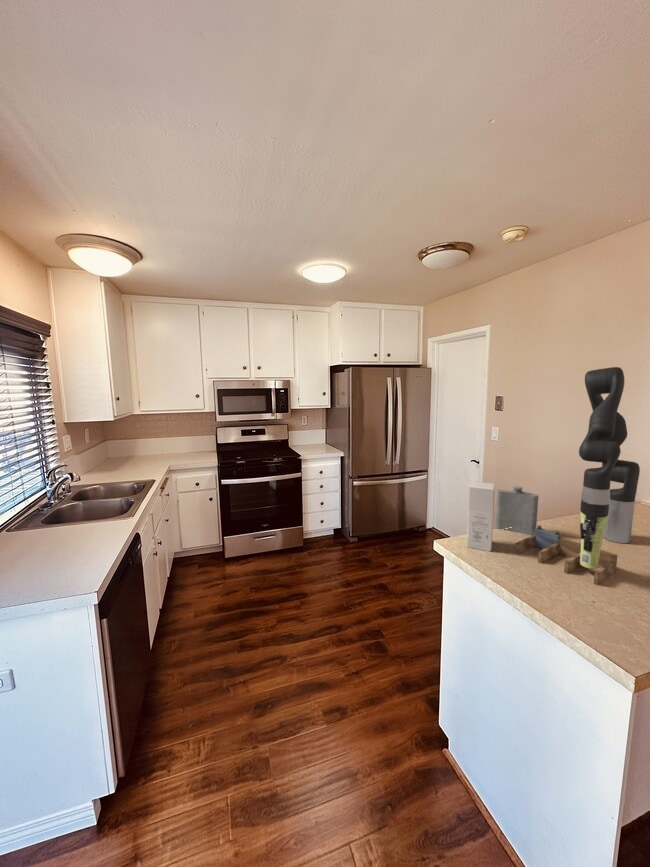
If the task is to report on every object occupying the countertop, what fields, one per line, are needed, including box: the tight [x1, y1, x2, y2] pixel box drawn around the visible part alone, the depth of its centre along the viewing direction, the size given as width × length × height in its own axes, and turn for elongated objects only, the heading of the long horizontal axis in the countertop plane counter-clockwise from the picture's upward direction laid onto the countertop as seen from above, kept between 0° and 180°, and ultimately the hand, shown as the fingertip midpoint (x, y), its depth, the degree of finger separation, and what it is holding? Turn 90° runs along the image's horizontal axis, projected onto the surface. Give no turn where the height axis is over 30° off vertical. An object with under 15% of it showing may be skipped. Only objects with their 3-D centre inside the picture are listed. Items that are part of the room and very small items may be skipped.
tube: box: [579, 511, 609, 570], centre depth 119 cm, size 6×5×20 cm
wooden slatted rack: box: [514, 524, 618, 586], centre depth 128 cm, size 15×27×8 cm, turn 33°
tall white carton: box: [466, 481, 496, 552], centre depth 141 cm, size 9×9×25 cm
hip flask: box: [494, 485, 539, 536], centre depth 155 cm, size 16×4×20 cm, turn 56°
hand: (591, 548), depth 119 cm, fingers closed on tube, 4 cm apart
